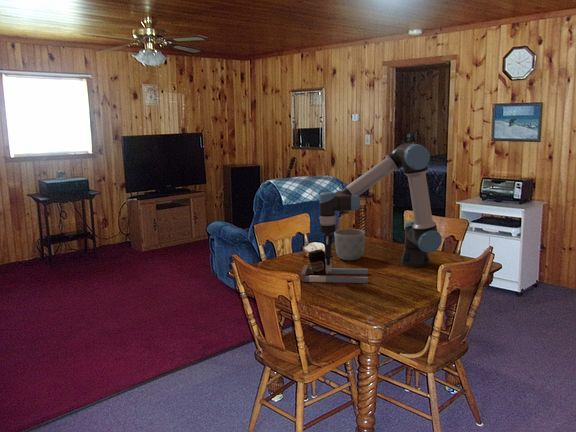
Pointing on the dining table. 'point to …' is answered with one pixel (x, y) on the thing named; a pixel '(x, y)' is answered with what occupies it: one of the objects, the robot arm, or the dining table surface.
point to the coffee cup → (317, 262)
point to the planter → (349, 243)
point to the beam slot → (334, 278)
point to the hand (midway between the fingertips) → (328, 270)
